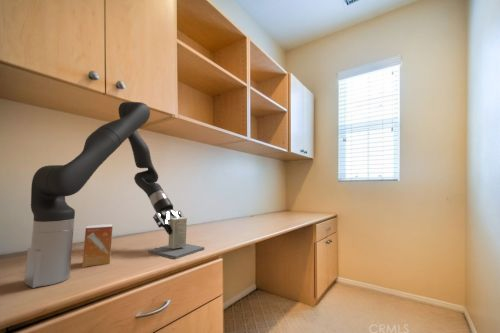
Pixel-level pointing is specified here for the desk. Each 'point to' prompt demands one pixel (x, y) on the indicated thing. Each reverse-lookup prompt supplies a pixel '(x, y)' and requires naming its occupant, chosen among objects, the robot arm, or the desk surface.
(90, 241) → the small box
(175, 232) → the skincare box
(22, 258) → the desk surface
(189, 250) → the rubber mat
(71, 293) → the desk surface
